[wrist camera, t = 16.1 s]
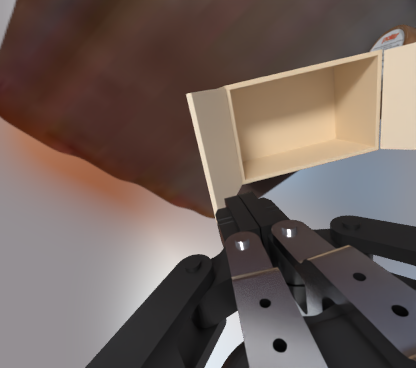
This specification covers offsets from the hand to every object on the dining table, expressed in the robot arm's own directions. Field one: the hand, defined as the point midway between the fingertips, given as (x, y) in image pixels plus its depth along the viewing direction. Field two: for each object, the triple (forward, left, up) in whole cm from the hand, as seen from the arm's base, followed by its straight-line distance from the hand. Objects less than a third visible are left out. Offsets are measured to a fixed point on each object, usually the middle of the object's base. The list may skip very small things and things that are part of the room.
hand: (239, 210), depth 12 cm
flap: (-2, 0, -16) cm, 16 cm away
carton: (-16, 0, -31) cm, 35 cm away
